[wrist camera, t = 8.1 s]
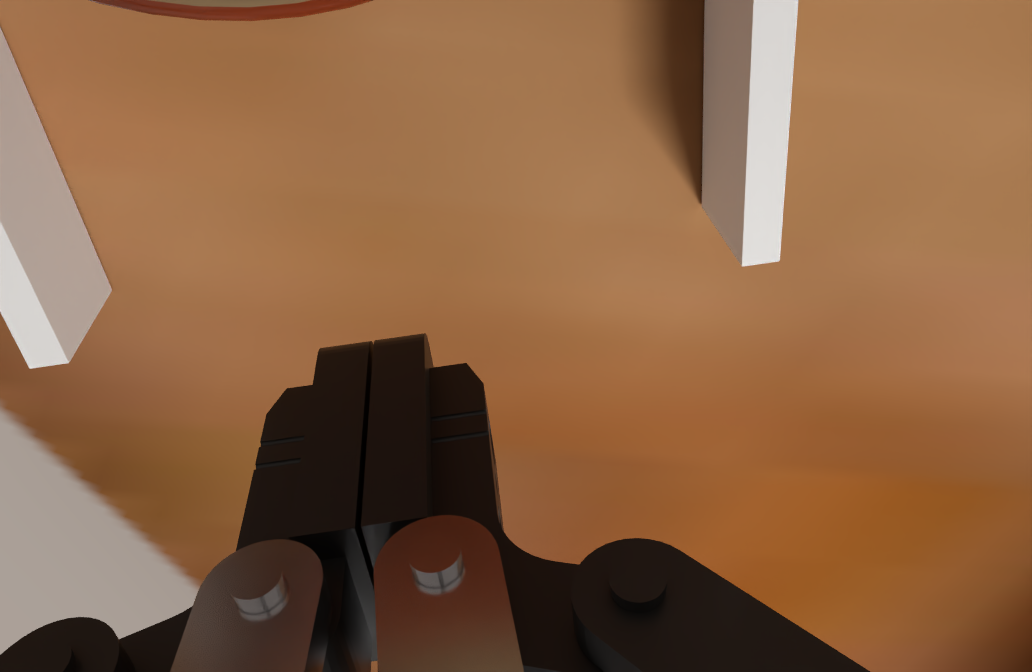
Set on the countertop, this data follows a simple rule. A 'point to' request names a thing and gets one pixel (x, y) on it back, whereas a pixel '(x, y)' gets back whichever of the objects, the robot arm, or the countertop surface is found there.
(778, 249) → the tray
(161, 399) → the countertop surface
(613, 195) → the countertop surface
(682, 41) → the countertop surface
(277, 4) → the mug
